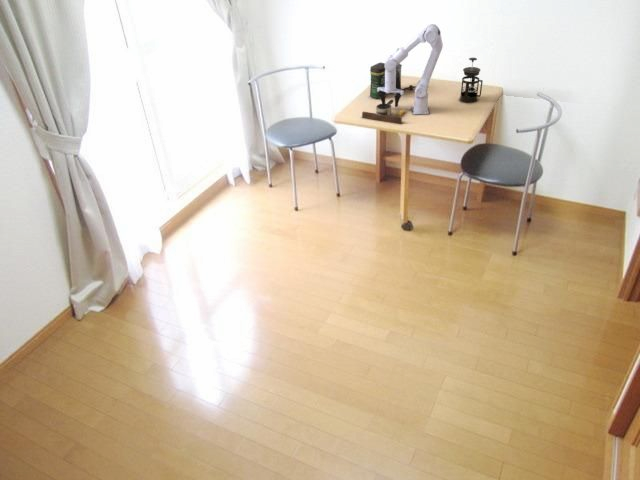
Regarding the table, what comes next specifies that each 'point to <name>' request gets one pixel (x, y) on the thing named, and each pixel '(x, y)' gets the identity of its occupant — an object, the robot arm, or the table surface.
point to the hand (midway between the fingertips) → (390, 105)
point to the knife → (400, 113)
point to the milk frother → (398, 79)
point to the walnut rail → (382, 117)
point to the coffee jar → (377, 79)
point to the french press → (470, 91)
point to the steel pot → (384, 108)
